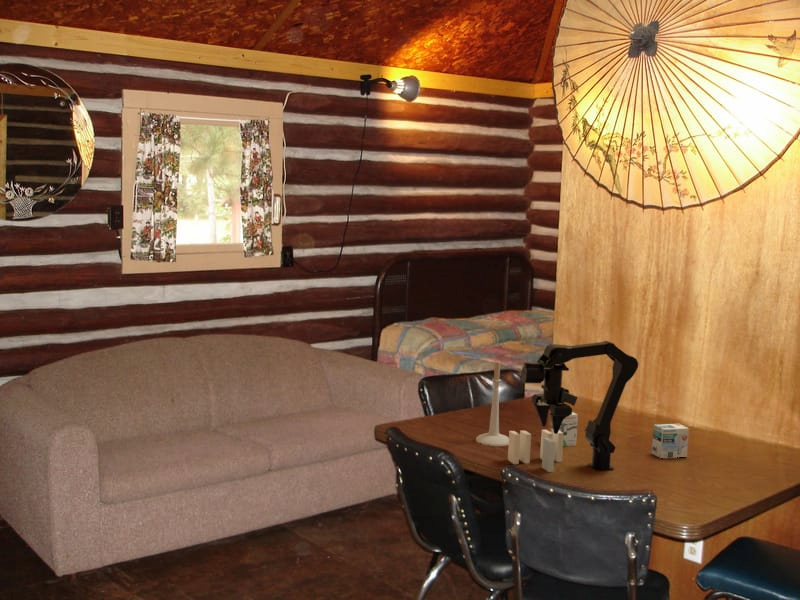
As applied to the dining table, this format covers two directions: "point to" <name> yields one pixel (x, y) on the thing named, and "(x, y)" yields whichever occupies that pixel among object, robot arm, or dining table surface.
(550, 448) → the domino
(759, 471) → the dining table surface
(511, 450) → the domino
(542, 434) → the domino
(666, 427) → the light bulb box
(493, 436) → the candlestick
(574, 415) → the ink box
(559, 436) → the domino
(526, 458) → the domino
